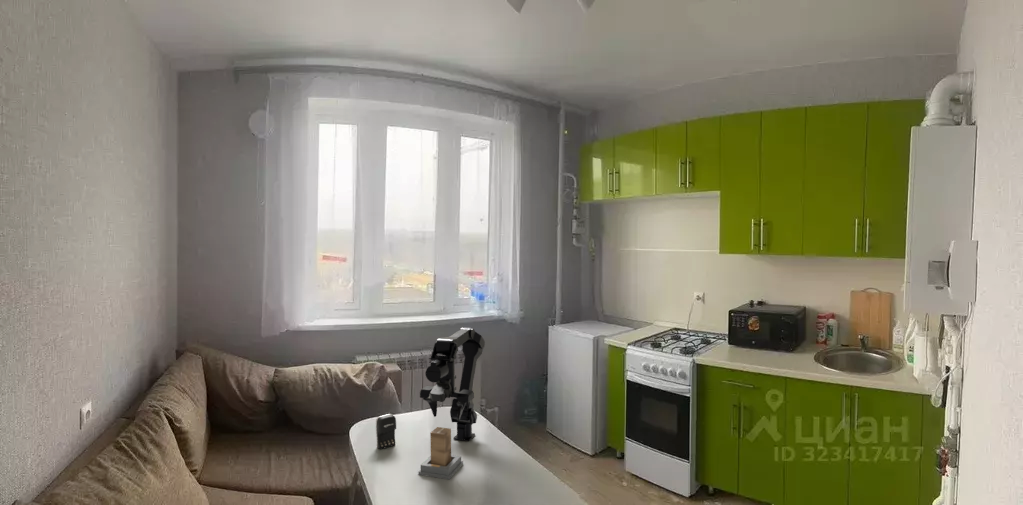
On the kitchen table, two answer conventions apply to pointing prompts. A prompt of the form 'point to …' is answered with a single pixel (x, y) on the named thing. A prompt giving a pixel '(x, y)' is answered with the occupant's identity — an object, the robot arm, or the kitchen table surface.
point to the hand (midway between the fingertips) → (446, 417)
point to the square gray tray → (441, 468)
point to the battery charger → (385, 431)
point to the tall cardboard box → (441, 446)
